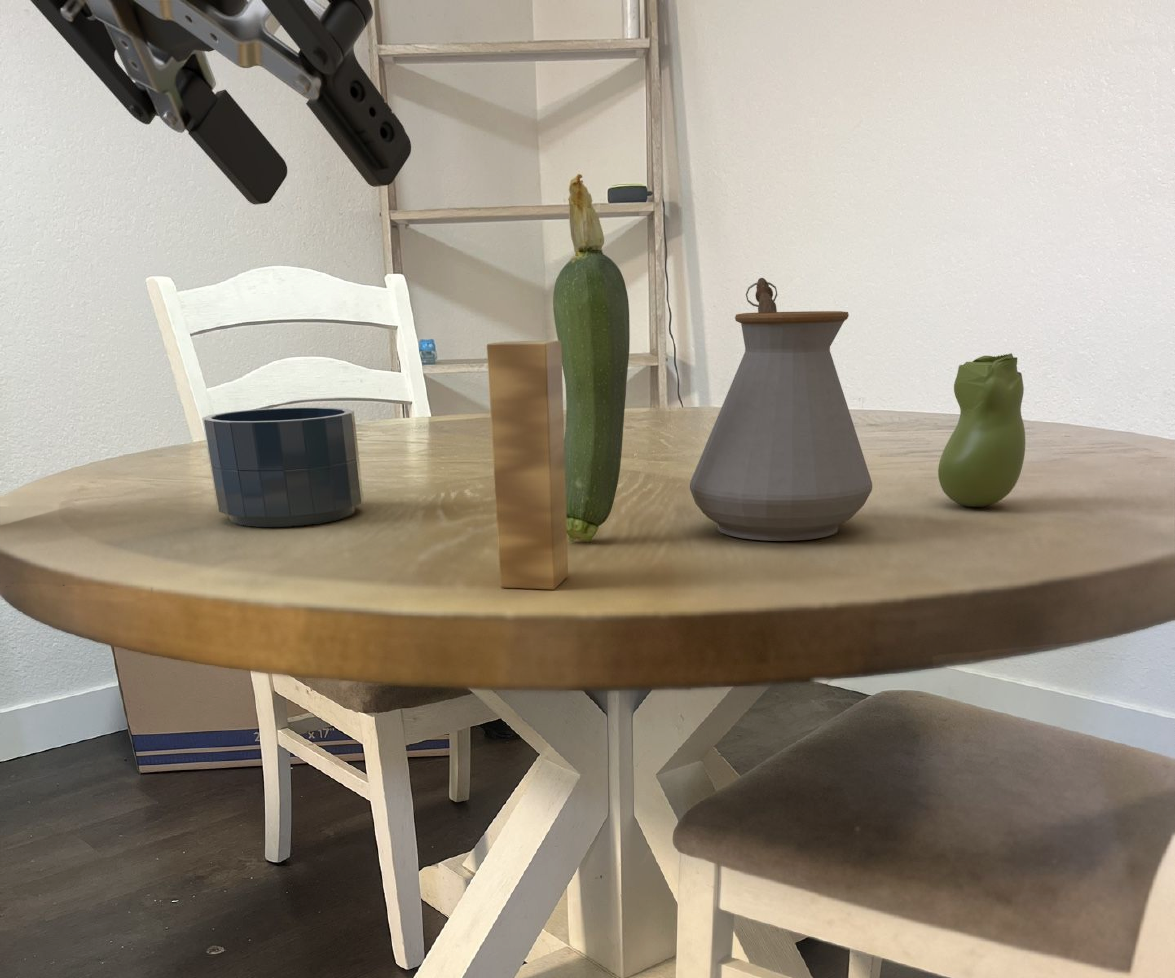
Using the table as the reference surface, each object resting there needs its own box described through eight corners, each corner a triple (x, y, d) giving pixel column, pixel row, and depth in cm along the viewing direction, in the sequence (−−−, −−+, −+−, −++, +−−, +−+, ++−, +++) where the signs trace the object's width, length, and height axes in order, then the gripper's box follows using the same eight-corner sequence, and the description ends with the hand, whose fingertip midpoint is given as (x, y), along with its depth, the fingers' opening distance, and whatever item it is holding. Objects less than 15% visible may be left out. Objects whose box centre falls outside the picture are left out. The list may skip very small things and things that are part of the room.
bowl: (191, 527, 73) (172, 422, 70) (264, 501, 82) (250, 407, 79) (325, 531, 70) (312, 422, 67) (386, 504, 79) (376, 407, 76)
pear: (1031, 510, 72) (1055, 353, 67) (961, 515, 71) (982, 356, 66) (985, 497, 77) (1005, 350, 72) (919, 501, 76) (936, 352, 71)
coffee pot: (886, 547, 62) (913, 267, 56) (693, 549, 63) (699, 272, 56) (826, 488, 82) (841, 276, 75) (678, 491, 82) (682, 279, 76)
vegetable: (596, 532, 68) (590, 181, 60) (645, 540, 66) (646, 174, 57) (546, 542, 66) (533, 176, 57) (595, 552, 63) (588, 169, 54)
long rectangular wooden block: (500, 588, 55) (486, 343, 50) (516, 574, 58) (504, 341, 53) (554, 590, 55) (545, 342, 50) (568, 576, 57) (561, 340, 52)
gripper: (122, -524, 26) (494, 84, 38) (-70, -304, 35) (282, 130, 47) (-51, -313, 24) (392, 244, 37) (-204, -141, 33) (194, 261, 46)
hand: (330, 180), depth 42 cm, fingers open, 8 cm apart
